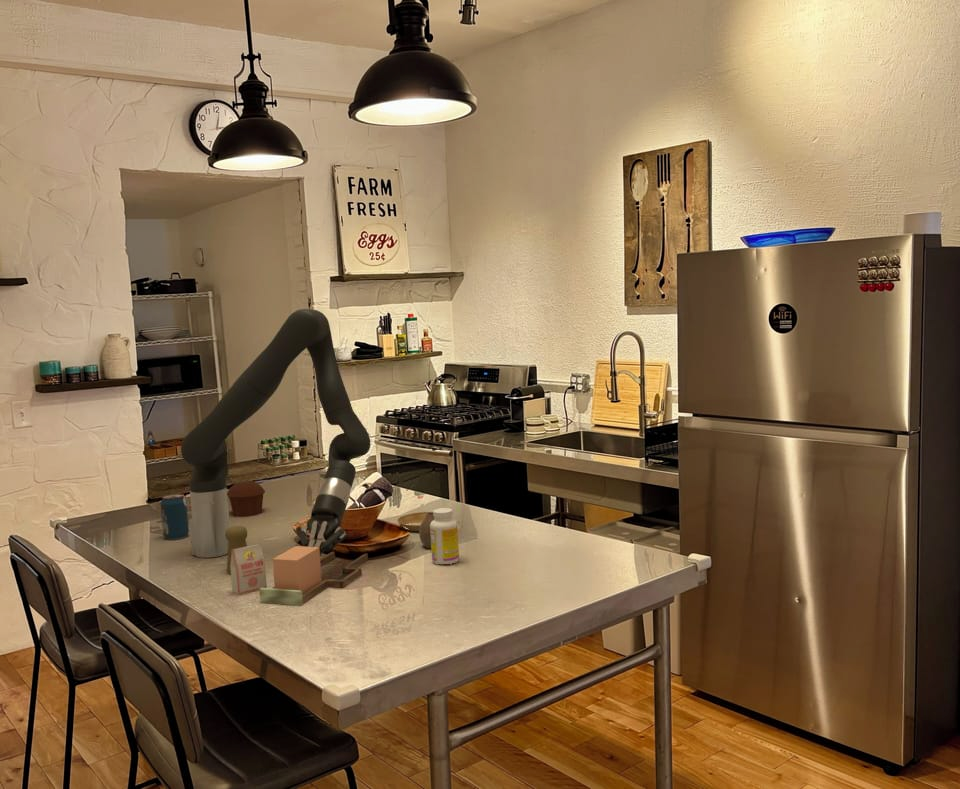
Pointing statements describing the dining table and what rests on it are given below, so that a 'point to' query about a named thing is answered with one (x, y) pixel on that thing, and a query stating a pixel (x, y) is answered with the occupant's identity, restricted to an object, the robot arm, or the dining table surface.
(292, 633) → the dining table surface
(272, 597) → the trap lane
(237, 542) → the olive ball-topped cylinder
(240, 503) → the muffin
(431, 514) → the vase
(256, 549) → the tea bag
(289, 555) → the terracotta block
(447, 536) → the supplement bottle
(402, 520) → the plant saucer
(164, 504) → the soda can
